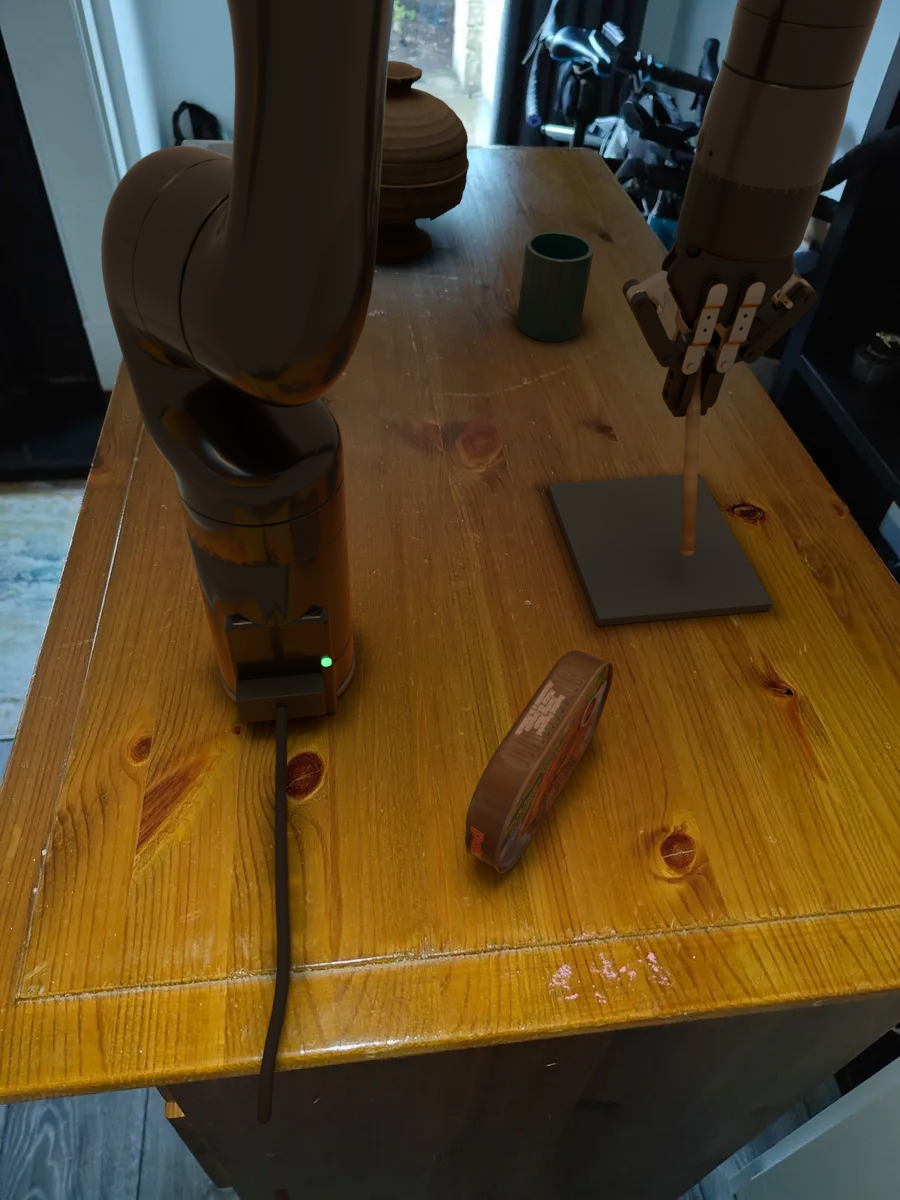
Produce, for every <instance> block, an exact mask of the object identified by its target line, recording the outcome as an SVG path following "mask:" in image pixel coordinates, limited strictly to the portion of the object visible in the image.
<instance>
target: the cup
mask: <svg viewBox="0 0 900 1200" xmlns="http://www.w3.org/2000/svg"><path fill="white" fill-rule="evenodd" d="M594 249H595V248H594V246H593V244H592V243H591V242H590V241H588V240H587V239H586V238H584V237H582V236H579V235H577V234H574V233H570V232H566V231H557V230H555V231H554V230H553V231H552V230H551V231H543V232H537V233H535V234H533V235H530V236H529V237H528V239H526V242H525V248H524V257H523V266H522V275H521V283H520V291H519V299H518V300H519V302H518V307H517V316H516V325H517V328H518V329H519V331H520V332H521V333H522V334H524V335H525V336H527V337H529V338H531V339H533V340H537V341H541V342H547V343H560V342H566V341H569V340H571V339H573V338H575V337H576V336H577V335H578V334H579V332H580V329H581V325H582V319H583V313H584V307H585V302H586V296H587V290H588V285H589V279H590V273H591V268H592V262H593V256H594Z"/></svg>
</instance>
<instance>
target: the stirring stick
mask: <svg viewBox="0 0 900 1200" xmlns="http://www.w3.org/2000/svg"><path fill="white" fill-rule="evenodd" d="M703 356H704V354H703V355H702V358H701V362H700V365H699V368H698V369H697V371H696V372H697V373H698V377H697V380H696V384H695V387H694V390H693V394H692V397H691V400H690V404H689V406H688V408H687V411H686V416H685V427H684V428H685V429H684V450H683V451H684V455H683V475H684V478H683V504H682V531H681V553H682V554H683V555H684V556H686V557H689V556H691V555H693V554H694V551H695V530H696V506H697V483H698V474H699V455H700V436H701V435H700V434H701V433H700V432H701V416H700V412H701V388H702V365H703Z"/></svg>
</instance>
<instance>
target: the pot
mask: <svg viewBox="0 0 900 1200" xmlns="http://www.w3.org/2000/svg"><path fill="white" fill-rule="evenodd" d="M422 75H423V69H420V68H419V67H415V66H414V65H412V64H410V63H407V62H404V61H396V60H395V61H394V60H388V69H387V83H386V98H385V114H384V131H383V148H382V165H381V182H380V199H379V216H378V230H377V246H376V259H375V263H376V262H377V263H384V264H403V263H410V262H413V261H418V260H420V259H422V258H424V257H426V256H427V255H429V254H430V253H431V251H432V250H433V240H432V237H431V235H430V234H429V233H428V232H427V231H426V230H424V229H423V228H422V227H419V226H418V225H417V220H427V219H429V220H430V222H432V221H434V220H436V219H438V218H439V217H441V216H443V215H445V214H446V213H447V212H449V211H451V210H453V209H454V208H456V207H457V206H459V205H461V202H462V200H463V196H464V191H465V190H466V187H467V186H466V185H467V176H468V172H469V168H470V161H469V159H468V144H469V138H468V131H467V129H466V127H465V126H464V123H463V121H462V119H461V118H460V117H459V116H458V114H457V113H456V112H455V111H454V110H453V108H452V107H450V106H449V105H448V104H447V103H446V102H445V101H444V100H442V99H441V98H439V97H437V96H435V95H433V94H432V93H429V92H427V91H425V90H421V89H418V88H413V87H412V85H413V84H414V83H416V82H418V81H419V80H420V79H421V78H422Z"/></svg>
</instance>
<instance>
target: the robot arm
mask: <svg viewBox="0 0 900 1200" xmlns="http://www.w3.org/2000/svg"><path fill="white" fill-rule="evenodd" d="M882 3H883V0H737V1H736V5H735V9H734V13H733V17H732V22H731V25H730V29H729V33H728V39H727V41H726V45H725V50H724V54H723V58H722V61H721V64H720V67H719V71H718V73H717V76H716V79H715V81H714V84H713V87H712V89H711V92H710V94H709V97H708V100H707V104H706V107H705V110H704V114H703V118H702V123H701V126H700V129H699V131H698V133H697V136H696V141H695V152H694V155H693V159H692V164H691V167H690V171H689V176H688V180H687V183H686V187H685V191H684V196H683V199H682V204H681V208H680V212H679V216H678V221H677V227H676V235H675V240H674V242H673V245H672V247H671V248H670V250H669V251H668V253H666V255H665V257H664V258H663V260H662V263H661V268H660V269H661V270H660V271H658V272H655V274H653V275H651V276H649V277H648V278H646V279H644V281H642V282H640V281H639V280H638V279H637V278H636V279H635V278H632V279H628V280H627V281H626V282H625V283H624V284H623V285H622V288H621V289H622V290H621V291H622V295H623V296H624V298H625V300H626V302H627V304H628V306H629V308H630V311H631V313H632V315H633V316H634V319H635V321H636V323H637V325H638V327H639V329H640V331H641V333H642V335H643V338H644V339H645V341H646V343H647V345H648V348H649V349H650V351H651V352H652V354H653V356H654V357H655V359H656V360H657V362H658V364H659V366H661V367H662V368H668V369H667V372H666V376H665V380H664V384H663V387H662V391H661V397H662V400H663V402H664V405H666V407H667V409H668V410H669V411H670V413H671V415H672V416H673V417H674V418H682V417H683V418H686V411H687V408H688V406H689V404H690V400H691V397H692V394H693V390H694V387H695V384H696V380H697V377H698V373H697V372H696V371H697V369H698V368H699V365H700V362H701V358H702V355H703V365H702V388H701V412H700V417H701V416H703V417H704V416H706V415H707V413H708V410H709V409H712V408H713V407H714V405H715V404H716V403H717V400H718V397H719V394H720V391H721V388H722V386H723V382H724V380H725V377H726V374H727V372H728V371H731V369H732V368H733V366H734V365H736V364H738V363H741V362H744V363H745V364H750V365H751V364H753V363H755V362H756V361H758V360H759V359H760V358H761V357H762V356H763V355H764V354H765V353H766V352H767V351H768V350H769V349H770V348H771V347H772V346H773V345H774V344H775V343H776V342H777V341H778V340H779V339H780V338H782V337H783V335H785V333H787V331H789V330H790V329H791V328H792V327H793V326H794V325H795V324H796V323H797V322H799V320H800V319H801V318H802V317H803V316H804V315H805V314H807V313H808V311H809V310H810V309H811V308H813V306H814V305H815V304H816V303H817V301H818V299H819V295H818V293H817V291H816V290H815V289H814V288H813V287H812V286H811V284H809V282H808V281H807V280H806V279H804V278H803V277H802V276H801V275H800V274H799V273H795V270H796V261H795V252H797V250H798V249H799V248H800V247H801V245H802V243H803V241H804V237H805V236H806V235H805V234H806V232H807V229H808V227H809V224H810V220H811V218H812V215H813V213H814V210H815V206H816V204H817V201H818V198H819V196H820V193H821V190H822V187H823V185H824V181H825V179H826V175H827V173H828V170H829V167H830V164H831V162H832V159H833V156H834V154H835V151H836V148H837V146H838V142H839V140H840V136H841V134H842V131H843V128H844V124H845V121H846V116H847V112H848V107H849V102H850V98H851V94H852V90H853V87H854V84H855V79H856V77H857V76H858V72H859V70H860V66H861V63H862V61H863V58H864V55H865V52H866V50H867V47H868V44H869V41H870V38H871V35H872V33H873V30H874V27H875V24H876V20H877V18H878V15H879V12H880V9H881V6H882ZM226 5H227V9H228V15H229V23H230V32H231V41H232V47H233V68H234V109H233V137H232V154H231V155H232V156H229V155H226V154H224V153H220V152H217V151H215V150H211V149H208V148H205V147H198V146H194V145H174V146H170V147H163V148H161V149H158V150H155V151H153V152H150V153H149V154H147V155H145V156H143V157H142V158H141V159H140V160H138V161H137V162H136V163H134V164H133V165H132V166H131V167H130V168H129V169H128V170H127V171H126V173H125V174H124V176H122V178H121V179H120V181H119V183H118V185H117V186H116V187H115V189H114V192H113V194H112V195H111V198H110V200H109V203H108V206H107V209H106V212H105V217H104V221H103V226H102V233H101V246H100V252H101V253H100V254H101V255H100V256H101V257H100V258H101V272H102V273H101V274H102V280H103V286H104V291H105V298H106V302H107V305H108V310H109V313H110V317H111V321H112V324H113V327H114V332H115V335H116V338H117V342H118V344H119V345H118V346H119V348H120V352H121V354H122V359H123V362H124V364H125V366H126V371H127V374H128V377H129V380H130V383H131V387H132V389H133V393H134V396H135V400H136V403H137V406H138V409H139V412H140V416H141V418H142V421H143V423H144V426H145V428H146V431H147V433H148V435H149V437H150V439H151V441H152V442H153V444H154V446H155V447H156V449H157V450H158V452H159V453H160V455H161V456H162V458H163V459H164V460H165V462H166V463H167V465H168V466H169V468H170V470H171V472H172V475H173V479H174V483H175V486H176V491H177V496H178V499H179V503H180V508H181V512H182V516H183V520H184V525H185V530H186V533H187V534H186V535H187V538H188V543H189V546H190V551H191V555H192V559H193V563H194V567H195V572H196V575H197V580H198V585H199V588H200V593H201V597H202V601H203V605H204V609H205V614H206V617H207V622H208V627H209V630H210V634H211V639H212V643H213V647H214V651H215V654H216V659H217V662H218V673H219V678H220V681H221V685H222V687H223V689H224V691H225V693H226V695H227V696H228V697H229V698H230V700H232V701H233V703H235V704H236V705H235V706H236V709H237V714H238V718H239V719H238V720H239V722H240V724H246V723H255V722H266V721H275V772H274V773H275V775H274V778H275V779H274V898H275V899H274V901H275V921H276V922H275V924H276V971H275V972H276V973H275V984H274V992H273V993H274V994H273V999H272V1000H273V1001H272V1006H271V1013H270V1018H269V1023H268V1027H267V1032H266V1037H265V1041H264V1045H263V1052H262V1057H261V1063H260V1068H259V1069H260V1070H259V1076H258V1077H259V1078H258V1089H257V1120H258V1122H259V1124H262V1125H266V1124H267V1123H269V1122H270V1120H271V1118H272V1115H273V1114H272V1113H273V1112H272V1111H273V1110H272V1109H273V1091H274V1090H273V1088H274V1077H275V1068H276V1061H277V1055H278V1050H279V1045H280V1040H281V1034H282V1030H283V1025H284V1019H285V1015H286V1008H287V1002H288V993H289V984H290V968H291V966H290V965H291V933H290V912H289V911H290V910H289V894H288V887H289V886H288V839H287V838H288V837H287V836H288V835H287V830H288V829H287V826H288V825H287V790H288V788H287V787H288V786H287V785H288V783H287V782H288V778H287V777H288V719H294V718H304V717H305V718H306V717H313V716H324V715H326V714H329V715H330V714H334V713H336V712H337V711H338V705H337V704H338V703H337V702H338V698H339V697H340V696H342V694H343V693H344V692H345V690H346V689H347V688H348V687H349V685H350V683H351V682H352V679H353V677H354V674H355V670H356V650H355V646H354V634H353V619H352V601H351V600H352V599H351V580H350V562H349V560H350V559H349V543H348V542H349V541H348V525H347V523H348V522H347V521H348V520H347V497H346V496H347V495H346V481H345V480H346V475H345V458H344V457H345V456H344V444H343V443H344V442H343V436H342V432H341V428H340V425H339V424H338V421H337V419H336V417H335V415H334V414H333V413H332V411H331V410H330V408H329V407H328V406H327V404H326V403H325V401H323V400H322V398H320V397H321V396H323V395H324V394H325V393H326V392H328V391H329V390H330V389H332V387H333V386H334V385H335V383H336V382H337V381H338V380H339V379H340V377H341V376H342V374H343V373H344V372H345V370H346V368H347V367H348V365H349V364H350V361H351V359H352V358H353V356H354V354H355V352H356V349H357V346H358V344H359V341H360V338H361V335H362V333H363V330H364V327H365V323H366V319H367V314H368V310H369V306H370V301H371V297H372V292H373V283H374V277H375V268H376V261H375V259H376V246H377V230H378V216H379V199H380V182H381V165H382V148H383V131H384V114H385V98H386V83H387V69H388V61H389V55H390V44H391V36H392V27H393V26H392V25H393V16H394V8H395V7H394V6H395V0H226ZM668 291H669V292H670V294H671V296H672V298H673V300H674V302H675V305H676V307H677V309H676V312H675V316H674V317H675V318H674V323H675V328H674V329H675V330H674V334H673V337H672V339H671V338H669V335H668V333H667V331H666V329H665V326H664V325H663V322H662V320H661V318H660V316H659V315H661V314H663V312H664V308H665V306H666V300H665V297H666V294H667V292H668ZM272 1192H273V1196H274V1198H275V1200H291V1198H290V1195H289V1194H290V1193H289V1191H288V1188H287V1187H286V1188H280V1189H276V1190H272Z"/></svg>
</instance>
